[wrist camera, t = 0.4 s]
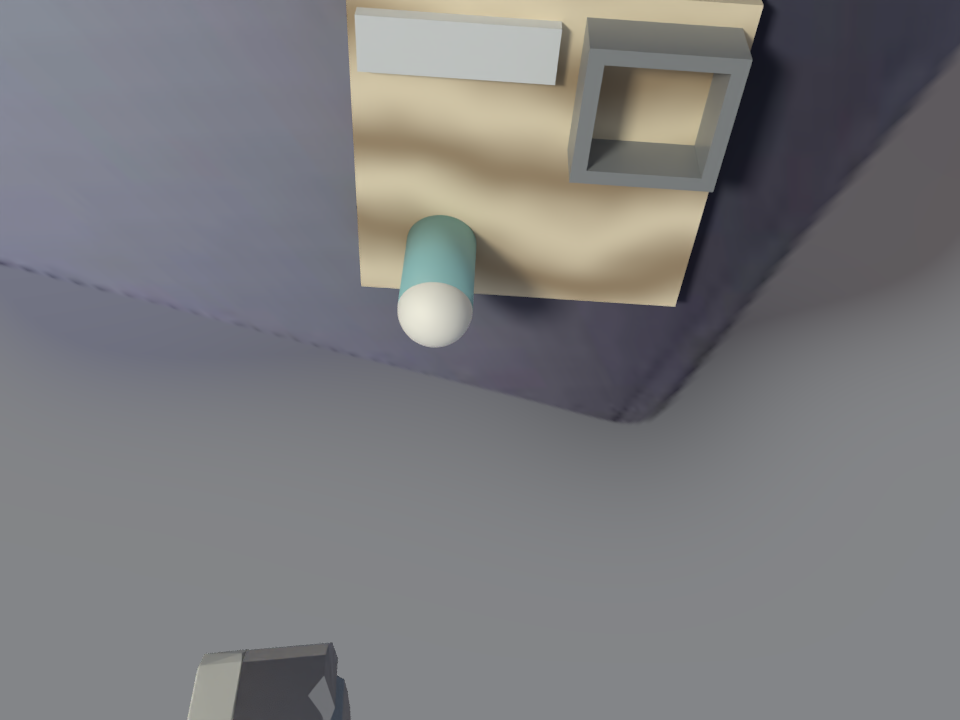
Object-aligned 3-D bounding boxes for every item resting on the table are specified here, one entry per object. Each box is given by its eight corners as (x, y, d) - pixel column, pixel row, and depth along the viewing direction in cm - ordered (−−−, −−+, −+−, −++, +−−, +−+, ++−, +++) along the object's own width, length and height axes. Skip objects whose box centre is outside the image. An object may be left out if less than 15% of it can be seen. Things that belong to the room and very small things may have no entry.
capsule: (406, 212, 54) (393, 306, 48) (478, 217, 54) (472, 311, 49) (406, 266, 57) (394, 360, 52) (474, 270, 57) (469, 365, 52)
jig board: (349, -38, 45) (344, -25, 44) (758, -9, 45) (763, 5, 44) (364, 270, 59) (361, 286, 58) (672, 290, 60) (675, 306, 59)
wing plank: (359, 63, 47) (357, 71, 46) (356, 7, 45) (354, 14, 44) (554, 76, 47) (554, 85, 47) (561, 21, 45) (562, 29, 44)
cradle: (587, 17, 45) (590, 48, 43) (742, 28, 45) (752, 59, 43) (567, 149, 50) (569, 182, 48) (705, 158, 50) (713, 192, 48)
